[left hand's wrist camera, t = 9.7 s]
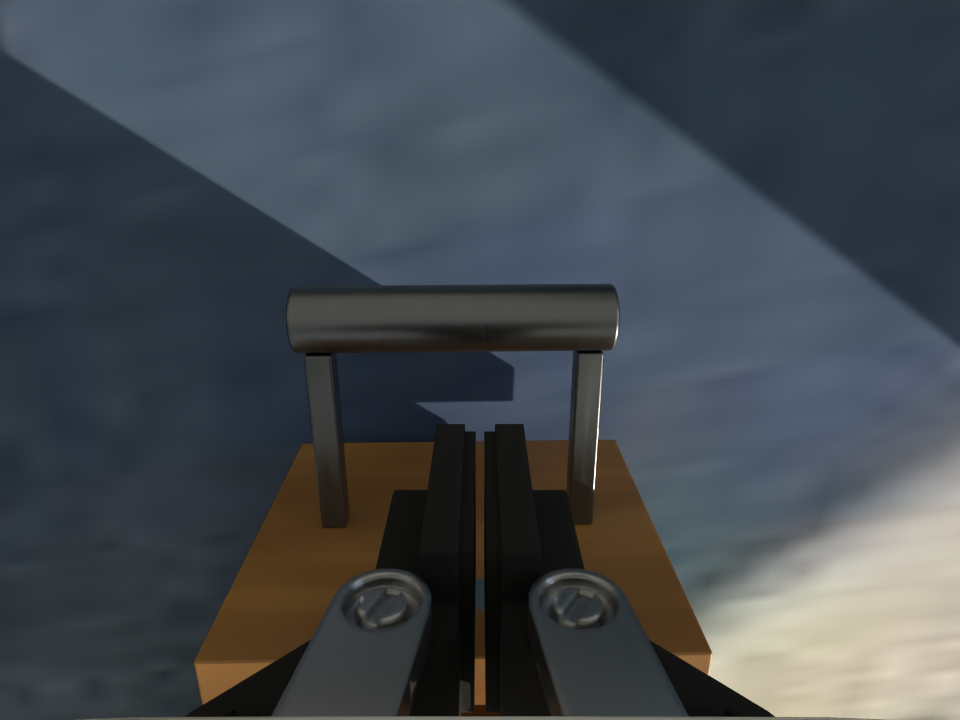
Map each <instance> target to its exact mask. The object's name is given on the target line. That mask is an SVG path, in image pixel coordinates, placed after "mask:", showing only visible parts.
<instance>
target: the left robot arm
mask: <svg viewBox="0 0 960 720" xmlns="http://www.w3.org/2000/svg"><path fill="white" fill-rule="evenodd" d="M475 602H476V432H465V424H437V426H436V433H435V440H434V447H433V454H432V461H431V468H430V476H429V483H428V490H394V492H393V495H392V499H391V504H390V508H389V512H388V517H387V521H386V525H385V530H384V534H383V538H382V543H381V547H380V552H379V556H378V560H377V565H376V569H375V570H372V571H367V572H364V573H362V574H360V575H357V576H355V577H353V578H351V579H350V580H349V581H347V582H346V583H345V584H343V585H342V586H341V587H340V589H339V590H338V591H337V592H336V594H335V595H334V597H333V599H332V601H331V602H330V604H329V606H328V608H327V610H326V612H325V614H324V616H323V618H322V620H321V622H320V624H319V625H318V627H317V629H316V631H315V633H314V635H313V637H312V639H311V640H309V641H307V642H306V643H304V644H303V645H301V646H299V647H298V648H296V649H294V650H293V651H291V652H289V653H288V654H286V655H284V656H283V657H281V658H279V659H278V660H276V661H274V662H273V663H271V664H270V665H268V666H266V667H265V668H263V669H261V670H260V671H258V672H256V673H255V674H253V675H251V676H250V677H248V678H246V679H245V680H243V681H241V682H240V683H238V684H236V685H235V686H233V687H232V688H230V689H228V690H227V691H225V692H223V693H222V694H220V695H218V696H217V697H215V698H213V699H212V700H210V701H208V702H207V703H205V704H203V705H202V706H200V707H198V708H197V709H195V710H194V711H192V712H191V713H189V714H188V715H187V716H185V717H129V718H102V719H76V720H884V719H858V718H831V717H775V716H773V715H772V714H771V713H769V712H768V711H766V710H765V709H763V708H762V707H760V706H758V705H757V704H755V703H753V702H752V701H750V700H748V699H747V698H745V697H743V696H742V695H740V694H738V693H737V692H735V691H733V690H732V689H730V688H728V687H727V686H725V685H724V684H722V683H720V682H719V681H717V680H715V679H714V678H712V677H710V676H709V675H707V674H705V673H704V672H702V671H700V670H699V669H697V668H695V667H694V666H692V665H691V664H689V663H687V662H686V661H684V660H682V659H681V658H679V657H677V656H676V655H674V654H672V653H671V652H669V651H667V650H666V649H664V648H662V647H661V646H659V645H657V644H656V643H654V642H653V641H651V640H649V639H648V637H647V635H646V633H645V631H644V629H643V627H642V625H641V624H640V622H639V620H638V618H637V616H636V614H635V612H634V610H633V608H632V606H631V604H630V602H629V601H628V599H627V597H626V595H625V594H624V592H623V591H622V590H621V589H620V587H619V586H618V585H617V584H615V583H614V582H613V581H611V580H610V579H609V578H607V577H605V576H603V575H600V574H598V573H596V572H593V571H588V570H585V569H584V565H583V560H582V556H581V552H580V547H579V543H578V538H577V534H576V530H575V525H574V521H573V517H572V512H571V508H570V504H569V499H568V495H567V492H566V490H532V483H531V476H530V468H529V461H528V454H527V447H526V440H525V433H524V426H523V424H495V432H484V602H485V709H486V712H499V716H461V712H474V709H475Z"/></svg>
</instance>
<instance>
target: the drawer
mask: <svg viewBox="0 0 960 720" xmlns="http://www.w3.org/2000/svg"><path fill="white" fill-rule="evenodd" d="M619 325H620V308H619V299H618V295H617V292H616V289H615V287H614V286H613V285H611V284H530V285H397V286H296V287H294V288H292V289H291V291H290V293H289V296H288V300H287V306H286V328H287V335H288V340H289V343H290V346H291V348H292V350H293V351H294V352H297V353H306V355H305V357H304V360H305V370H306V380H307V389H308V399H309V408H310V418H311V428H312V437H313V443H304V444H302V446H301V448H300V450H299V452H298V454H297V456H296V458H295V460H294V462H293V464H292V466H291V468H290V470H289V472H288V474H287V476H286V478H285V480H284V482H283V484H282V486H281V488H280V490H279V492H278V494H277V496H276V498H275V500H274V502H273V504H272V506H271V508H270V510H269V512H268V514H267V516H266V518H265V520H264V522H263V524H262V526H261V528H260V530H259V532H258V534H257V536H256V538H255V540H254V542H253V544H252V546H251V548H250V550H249V552H248V554H247V556H246V558H245V560H244V562H243V564H242V566H241V568H240V571H239V573H238V575H237V577H236V579H235V581H234V583H233V585H232V587H231V589H230V591H229V593H228V595H227V597H226V599H225V601H224V603H223V605H222V607H221V609H220V611H219V613H218V615H217V617H216V619H215V621H214V623H213V625H212V627H211V629H210V631H209V633H208V635H207V637H206V639H205V641H204V643H203V645H202V647H201V649H200V651H199V653H198V655H197V657H196V659H195V661H194V666H195V671H196V676H197V681H198V686H199V691H200V696H201V701H202V705H203V704H205V703H207V702H208V701H210V700H212V699H213V698H215V697H217V696H218V695H220V694H222V693H223V692H225V691H227V690H228V689H230V688H232V687H233V686H235V685H236V684H238V683H240V682H241V681H243V680H245V679H246V678H248V677H250V676H251V675H253V674H255V673H256V672H258V671H260V670H261V669H263V668H265V667H266V666H268V665H270V664H271V663H273V662H274V661H276V660H278V659H279V658H281V657H283V656H284V655H286V654H288V653H289V652H291V651H293V650H294V649H296V648H298V647H299V646H301V645H303V644H304V643H306V642H307V641H309V640H311V639H312V637H313V635H314V633H315V631H316V629H317V627H318V625H319V624H320V622H321V620H322V618H323V616H324V614H325V612H326V610H327V608H328V606H329V604H330V602H331V601H332V599H333V597H334V595H335V594H336V592H337V591H338V590H339V589H340V587H341V586H342V585H343V584H345V583H346V582H347V581H349V580H350V579H351V578H353V577H355V576H357V575H360V574H362V573H364V572H367V571H372V570H375V569H376V565H377V560H378V556H379V552H380V547H381V543H382V538H383V534H384V530H385V525H386V521H387V517H388V512H389V508H390V504H391V499H392V495H393V492H394V490H428V483H429V476H430V468H431V461H432V454H433V447H434V442H383V443H344V441H343V429H342V417H341V406H340V394H339V382H338V371H337V359H336V353H377V352H484V351H573V368H572V387H571V407H570V427H569V440H553V441H526V447H527V454H528V461H529V468H530V476H531V483H532V490H566V492H567V495H568V499H569V504H570V508H571V512H572V517H573V521H574V525H575V530H576V534H577V538H578V543H579V547H580V552H581V556H582V560H583V565H584V569H585V570H588V571H593V572H596V573H598V574H600V575H603V576H605V577H607V578H609V579H610V580H611V581H613V582H614V583H615V584H617V585H618V586H619V587H620V589H621V590H622V591H623V592H624V594H625V595H626V597H627V599H628V601H629V602H630V604H631V606H632V608H633V610H634V612H635V614H636V616H637V618H638V620H639V622H640V624H641V625H642V627H643V629H644V631H645V633H646V635H647V637H648V639H649V640H651V641H653V642H654V643H656V644H657V645H659V646H661V647H662V648H664V649H666V650H667V651H669V652H671V653H672V654H674V655H676V656H677V657H679V658H681V659H682V660H684V661H686V662H687V663H689V664H691V665H692V666H694V667H695V668H697V669H699V670H700V671H702V672H704V673H705V674H707V675H709V672H710V666H711V659H712V651H711V649H710V647H709V645H708V643H707V640H706V638H705V636H704V634H703V632H702V629H701V627H700V625H699V623H698V621H697V619H696V616H695V614H694V612H693V610H692V608H691V605H690V603H689V601H688V599H687V597H686V594H685V592H684V590H683V588H682V586H681V584H680V581H679V579H678V577H677V575H676V573H675V570H674V568H673V566H672V564H671V562H670V559H669V557H668V555H667V553H666V551H665V549H664V546H663V544H662V542H661V540H660V538H659V535H658V533H657V531H656V529H655V527H654V524H653V522H652V520H651V518H650V516H649V514H648V511H647V509H646V507H645V505H644V503H643V500H642V498H641V496H640V494H639V492H638V489H637V487H636V485H635V483H634V481H633V479H632V476H631V474H630V472H629V470H628V468H627V465H626V463H625V461H624V459H623V457H622V455H621V452H620V450H619V448H618V446H617V444H616V441H615V440H598V434H599V420H600V405H601V390H602V376H603V361H604V353H603V352H602V350H611V349H613V348H614V347H615V345H616V342H617V339H618V334H619ZM461 716H499V712H486V709H485V602H484V441H476V602H475V709H474V712H461Z"/></svg>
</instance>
